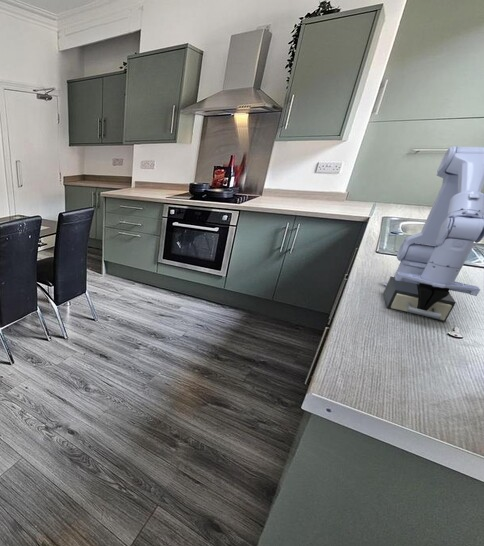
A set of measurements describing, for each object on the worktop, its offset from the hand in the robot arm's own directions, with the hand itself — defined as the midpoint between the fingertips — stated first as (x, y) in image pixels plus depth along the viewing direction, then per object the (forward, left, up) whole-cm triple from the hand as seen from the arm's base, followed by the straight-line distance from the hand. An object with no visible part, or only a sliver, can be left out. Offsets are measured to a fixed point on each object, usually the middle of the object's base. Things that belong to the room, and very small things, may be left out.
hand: (420, 311), depth 84 cm
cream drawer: (-3, -4, -2) cm, 5 cm away
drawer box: (-6, -7, -3) cm, 10 cm away
